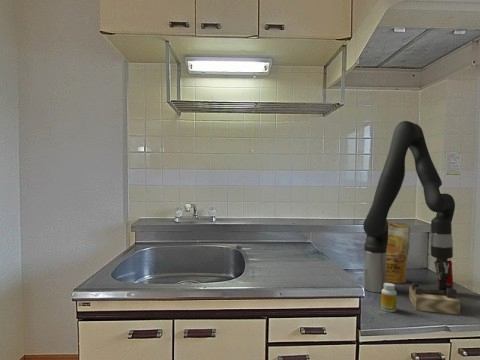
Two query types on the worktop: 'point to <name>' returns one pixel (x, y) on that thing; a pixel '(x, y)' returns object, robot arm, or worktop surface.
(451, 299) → the oak box
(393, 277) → the pancake mix bag
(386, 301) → the supplement bottle
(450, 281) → the beverage can
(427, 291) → the bar
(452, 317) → the worktop surface
